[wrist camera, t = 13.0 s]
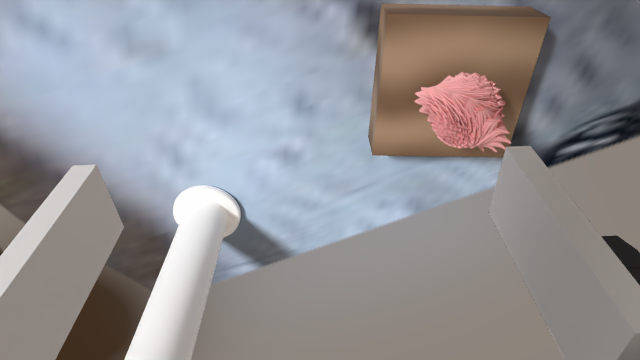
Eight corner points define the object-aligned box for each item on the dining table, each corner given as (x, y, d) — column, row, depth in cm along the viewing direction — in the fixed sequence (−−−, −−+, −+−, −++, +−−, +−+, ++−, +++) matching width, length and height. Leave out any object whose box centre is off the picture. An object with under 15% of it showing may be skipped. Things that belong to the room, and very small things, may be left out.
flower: (533, 61, 27) (488, 131, 26) (538, 127, 33) (501, 185, 32) (428, 38, 31) (387, 96, 31) (449, 99, 38) (416, 149, 37)
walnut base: (380, 2, 34) (387, 14, 30) (527, 5, 34) (550, 17, 31) (367, 133, 41) (372, 155, 37) (490, 135, 41) (505, 157, 38)
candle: (186, 174, 42) (64, 442, 22) (251, 200, 44) (195, 467, 24) (166, 222, 46) (46, 490, 25) (227, 243, 48) (161, 509, 27)
